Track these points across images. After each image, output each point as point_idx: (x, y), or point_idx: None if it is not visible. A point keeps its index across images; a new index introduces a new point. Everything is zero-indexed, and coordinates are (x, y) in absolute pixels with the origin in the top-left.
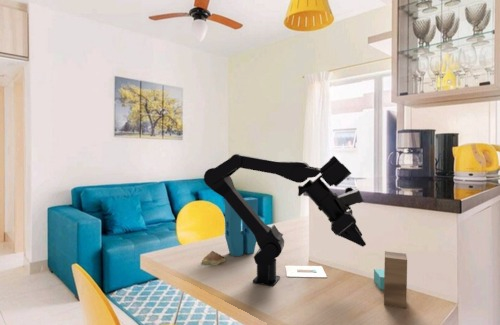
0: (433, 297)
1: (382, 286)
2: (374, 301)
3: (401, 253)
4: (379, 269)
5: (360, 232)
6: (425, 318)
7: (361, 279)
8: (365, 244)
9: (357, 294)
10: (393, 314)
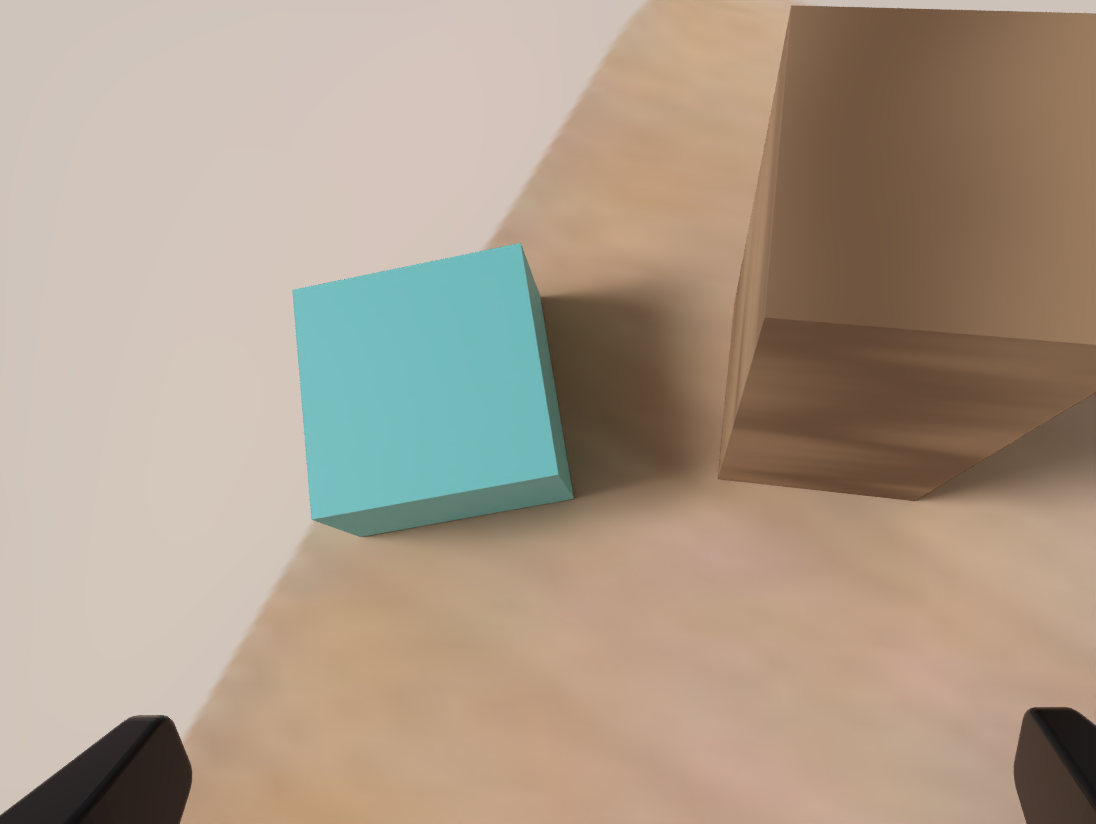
0: (614, 82)
1: (565, 470)
2: (872, 583)
3: (807, 67)
4: (315, 458)
5: (126, 774)
6: None
7: (350, 667)
8: (1075, 719)
9: (759, 745)
10: (1089, 440)
